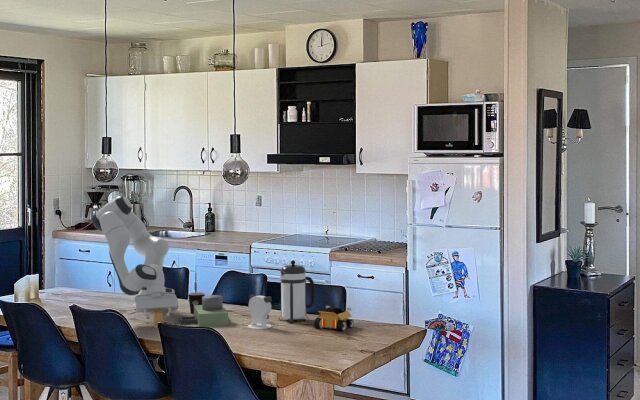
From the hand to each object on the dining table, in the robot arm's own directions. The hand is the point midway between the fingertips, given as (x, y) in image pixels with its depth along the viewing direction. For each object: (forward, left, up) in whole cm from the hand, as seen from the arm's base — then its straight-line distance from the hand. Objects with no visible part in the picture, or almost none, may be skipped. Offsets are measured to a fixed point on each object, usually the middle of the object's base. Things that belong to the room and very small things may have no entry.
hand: (157, 317), depth 401 cm
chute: (0, 0, -5) cm, 5 cm away
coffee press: (+18, +65, -5) cm, 67 cm away
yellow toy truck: (+44, +72, -5) cm, 85 cm away
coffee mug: (-24, +30, -5) cm, 39 cm away
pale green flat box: (-3, +24, -5) cm, 24 cm away
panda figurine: (+24, +43, -5) cm, 49 cm away
